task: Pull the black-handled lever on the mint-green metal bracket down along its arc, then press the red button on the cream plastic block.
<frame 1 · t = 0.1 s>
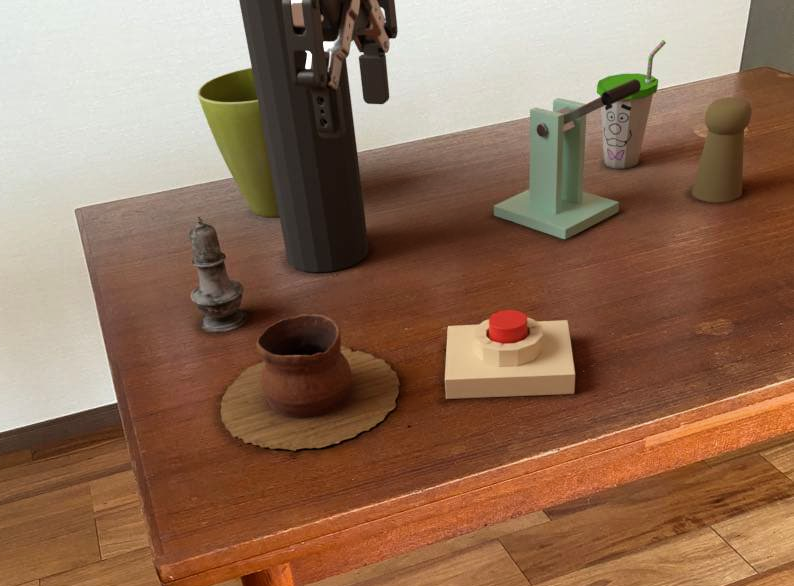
hand: (355, 119, 74), 24 cm above the table, tool pointing down, fingers open, 8 cm apart
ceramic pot: (310, 398, 87), on the table
bracket: (555, 213, 112), on the table
cup: (621, 164, 122), on the table
cancel button: (508, 327, 84), point 4 cm above the table, slide at 0.1 cm
lever: (586, 109, 101), point 13 cm above the table, hinge at 28.0°
flower pot: (278, 208, 123), on the table
salt shaker: (224, 322, 100), on the table
olive pawn: (716, 194, 112), on the table
button block: (508, 368, 87), on the table
dark grey column: (328, 255, 110), on the table
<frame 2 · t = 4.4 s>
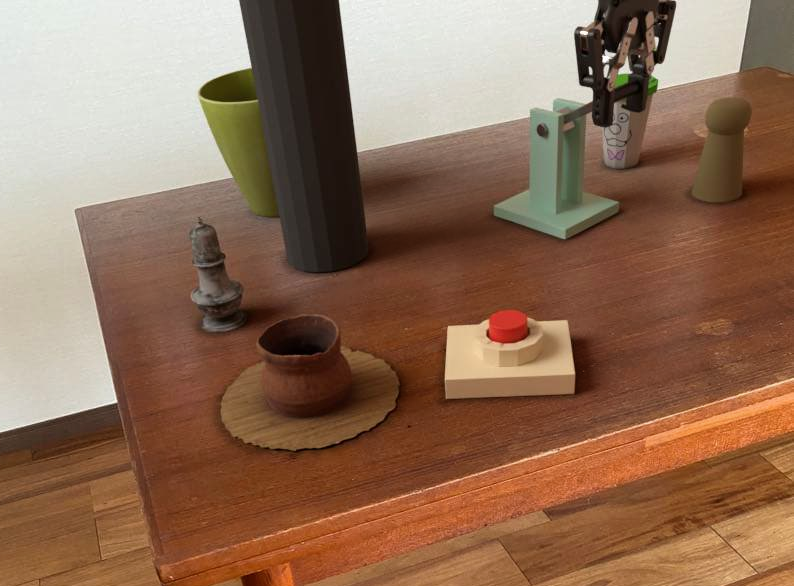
hand: (619, 117, 98), 13 cm above the table, tool pointing down, fingers closed on lever, 5 cm apart
lever: (586, 109, 101), point 13 cm above the table, hinge at 28.0°, touching gripper
everything else where it was.
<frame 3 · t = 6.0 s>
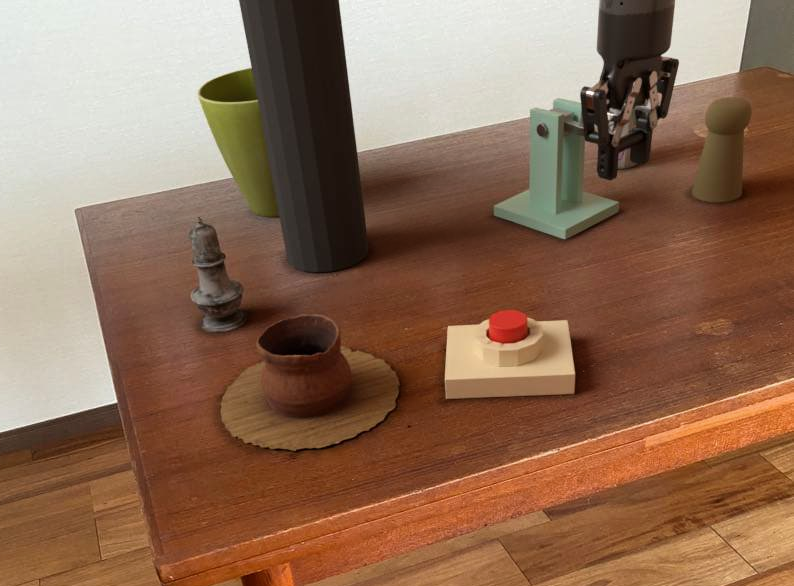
hand: (623, 169, 101), 8 cm above the table, tool pointing down, fingers closed on lever, 5 cm apart
lever: (588, 131, 102), point 11 cm above the table, hinge at -2.0°, touching gripper
everything else where it was.
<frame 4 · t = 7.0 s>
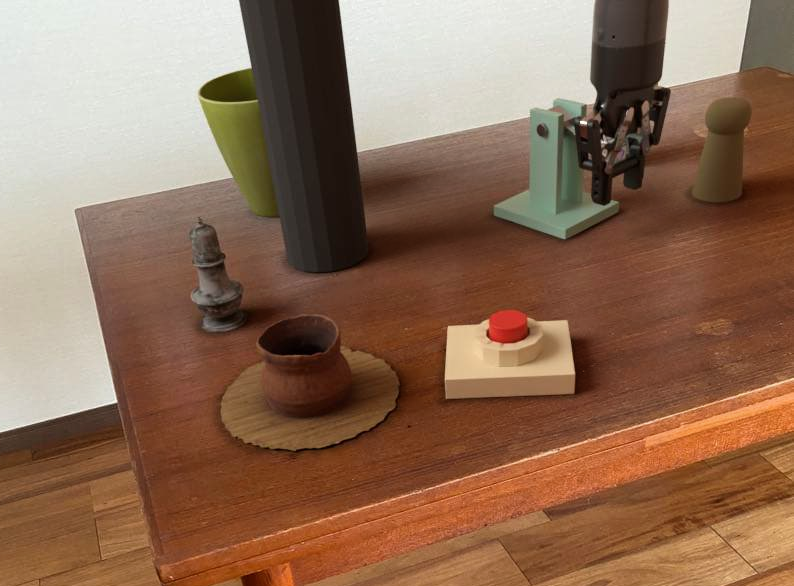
hand: (617, 194, 104), 5 cm above the table, tool pointing down, fingers closed on lever, 5 cm apart
lever: (586, 143, 103), point 9 cm above the table, hinge at -18.8°, touching gripper
everything else where it was.
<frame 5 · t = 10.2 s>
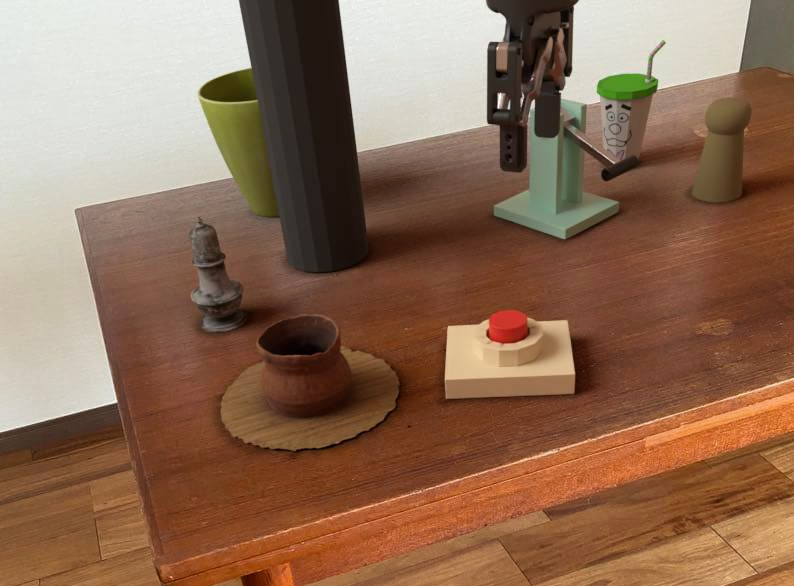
hand: (530, 152, 79), 18 cm above the table, tool pointing down, fingers open, 8 cm apart
lever: (586, 143, 103), point 9 cm above the table, hinge at -19.4°
everything else where it was.
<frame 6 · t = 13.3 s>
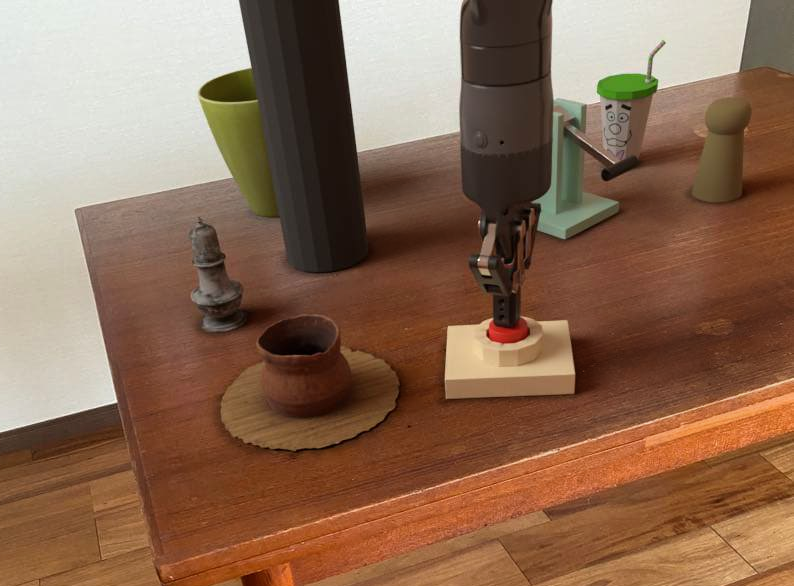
hand: (507, 323, 84), 5 cm above the table, tool pointing down, fingers closed
cancel button: (508, 332, 84), point 4 cm above the table, slide at -0.4 cm, touching gripper
everything else where it was.
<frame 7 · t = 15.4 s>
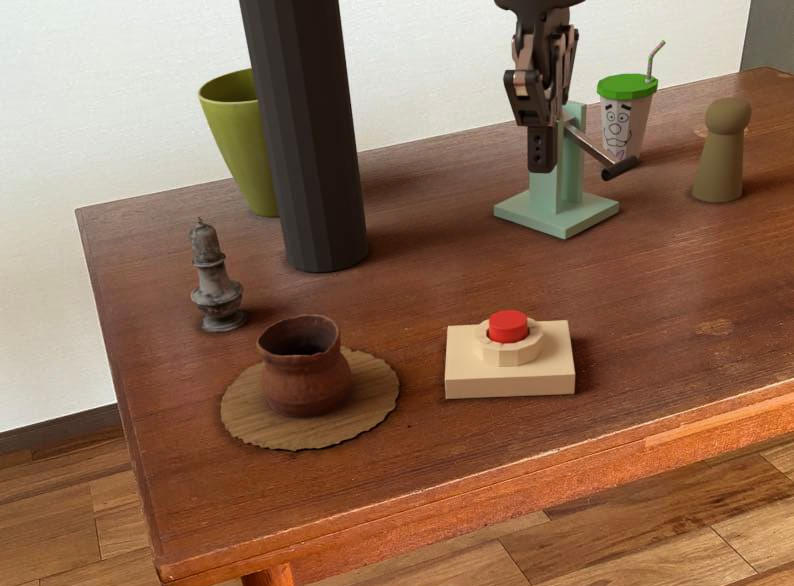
hand: (542, 169, 75), 18 cm above the table, tool pointing down, fingers closed
cancel button: (508, 327, 84), point 4 cm above the table, slide at 0.1 cm
everything else where it was.
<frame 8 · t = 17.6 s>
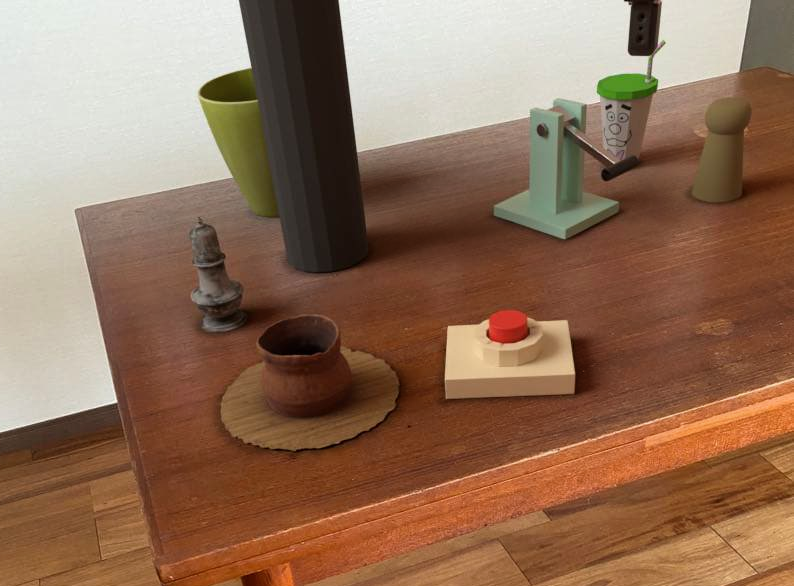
hand: (642, 53, 75), 25 cm above the table, tool pointing down, fingers closed
nothing on the table moved.
at the end: lever at -19° (first picture: +28°); cancel button pushed in 1.1 cm at the most during the clip, back to where it started at the end; cancel button slide at 0.1 cm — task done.
